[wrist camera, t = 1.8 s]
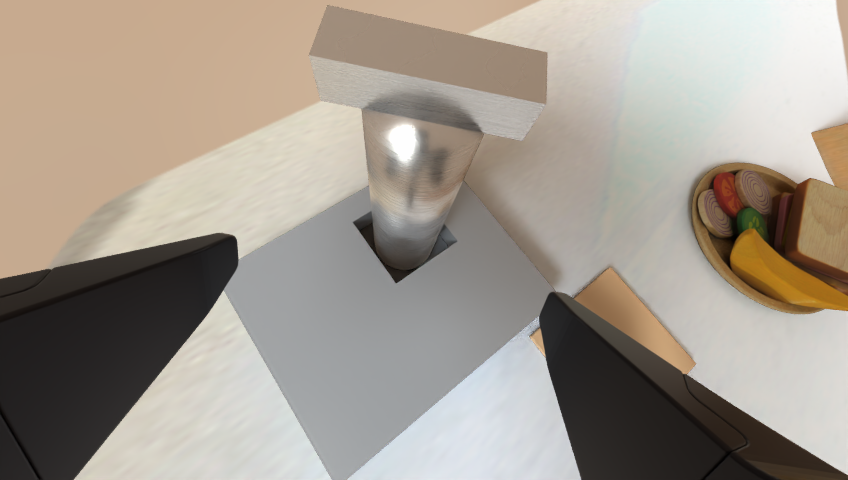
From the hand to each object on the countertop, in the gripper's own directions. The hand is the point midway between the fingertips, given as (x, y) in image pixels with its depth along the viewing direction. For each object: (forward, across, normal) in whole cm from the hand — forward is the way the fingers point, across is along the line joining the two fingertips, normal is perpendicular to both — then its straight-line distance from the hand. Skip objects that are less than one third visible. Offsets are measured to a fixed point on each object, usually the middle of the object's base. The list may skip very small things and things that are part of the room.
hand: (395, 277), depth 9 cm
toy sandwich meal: (+17, -28, +1) cm, 33 cm away
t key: (+12, 0, +5) cm, 13 cm away
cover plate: (+10, 0, +7) cm, 12 cm away
